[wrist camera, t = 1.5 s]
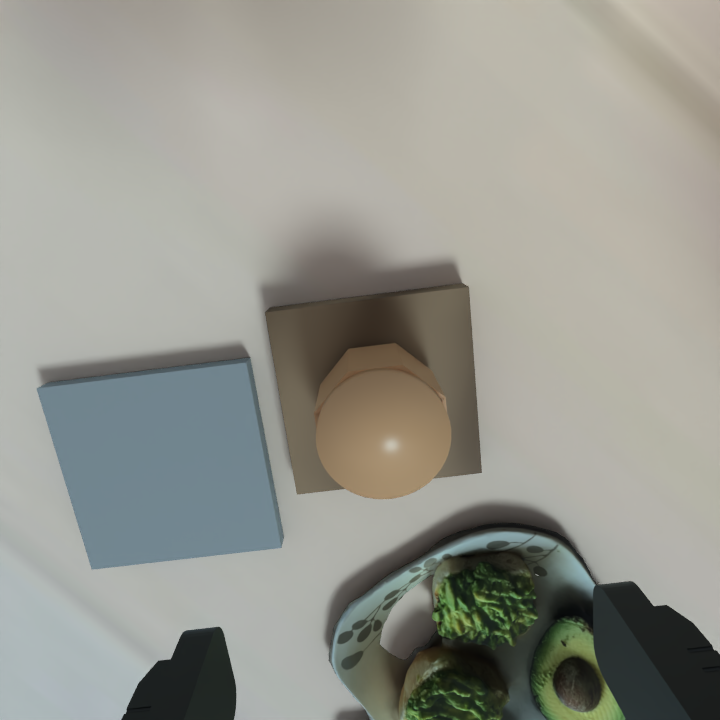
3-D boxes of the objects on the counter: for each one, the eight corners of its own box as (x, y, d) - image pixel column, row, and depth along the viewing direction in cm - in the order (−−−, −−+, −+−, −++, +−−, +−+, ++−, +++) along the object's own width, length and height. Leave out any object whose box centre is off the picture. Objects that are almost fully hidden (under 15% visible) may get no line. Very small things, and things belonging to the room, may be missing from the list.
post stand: (462, 283, 26) (492, 300, 20) (475, 460, 29) (505, 519, 23) (270, 307, 26) (245, 331, 21) (300, 480, 29) (285, 545, 23)
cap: (429, 338, 25) (445, 365, 20) (438, 443, 26) (456, 490, 22) (315, 352, 25) (305, 382, 20) (331, 456, 26) (325, 506, 22)
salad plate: (405, 805, 36) (412, 887, 32) (259, 628, 32) (244, 693, 28) (658, 687, 34) (704, 758, 29) (534, 478, 30) (566, 524, 25)
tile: (250, 357, 27) (246, 362, 26) (284, 537, 30) (281, 547, 29) (47, 382, 27) (36, 388, 26) (100, 558, 30) (91, 569, 29)
